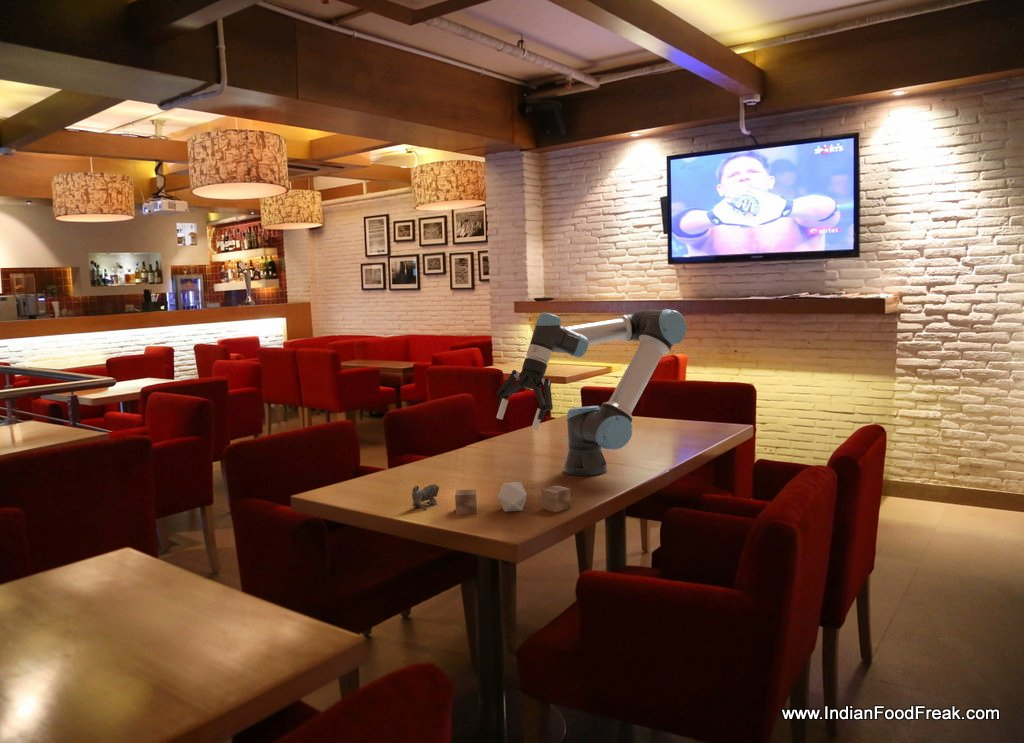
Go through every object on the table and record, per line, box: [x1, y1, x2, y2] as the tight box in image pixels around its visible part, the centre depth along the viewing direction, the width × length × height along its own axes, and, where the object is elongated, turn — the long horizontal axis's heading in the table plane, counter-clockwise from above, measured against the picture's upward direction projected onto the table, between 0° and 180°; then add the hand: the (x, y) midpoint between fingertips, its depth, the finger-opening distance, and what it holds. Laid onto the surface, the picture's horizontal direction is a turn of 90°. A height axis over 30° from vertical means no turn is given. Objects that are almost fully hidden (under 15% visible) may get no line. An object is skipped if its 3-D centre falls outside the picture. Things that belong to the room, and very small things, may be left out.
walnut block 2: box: [541, 485, 572, 513], centre depth 234 cm, size 6×6×6 cm
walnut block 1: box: [454, 488, 478, 516], centre depth 235 cm, size 6×6×6 cm
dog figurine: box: [411, 483, 440, 511], centre depth 244 cm, size 12×6×7 cm, turn 146°
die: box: [497, 481, 528, 513], centre depth 235 cm, size 8×9×10 cm
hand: (516, 424), depth 249 cm, fingers open, 13 cm apart
